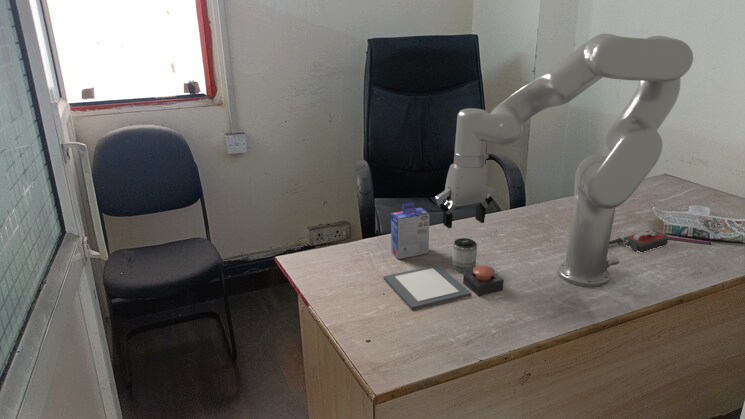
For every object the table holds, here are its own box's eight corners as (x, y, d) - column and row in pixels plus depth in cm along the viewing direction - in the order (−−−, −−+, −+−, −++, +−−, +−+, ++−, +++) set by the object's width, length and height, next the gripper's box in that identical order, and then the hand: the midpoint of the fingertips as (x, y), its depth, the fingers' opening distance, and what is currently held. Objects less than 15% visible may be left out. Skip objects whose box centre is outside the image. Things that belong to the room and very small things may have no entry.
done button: (486, 273, 136) (486, 264, 135) (498, 282, 132) (499, 273, 131) (468, 277, 134) (469, 268, 133) (480, 286, 130) (480, 277, 129)
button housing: (486, 277, 138) (487, 267, 137) (502, 290, 132) (503, 279, 131) (463, 283, 135) (463, 272, 134) (478, 296, 129) (479, 285, 128)
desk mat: (438, 267, 143) (438, 263, 143) (471, 295, 130) (471, 292, 129) (383, 279, 138) (383, 275, 137) (411, 310, 124) (411, 306, 124)
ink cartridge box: (420, 245, 156) (422, 199, 150) (429, 253, 151) (431, 205, 146) (389, 251, 152) (389, 204, 147) (398, 260, 148) (398, 211, 142)
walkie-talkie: (644, 234, 163) (597, 248, 154) (647, 221, 161) (599, 234, 153) (671, 245, 155) (622, 260, 147) (674, 232, 154) (625, 245, 145)
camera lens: (447, 265, 144) (448, 238, 142) (467, 260, 147) (468, 234, 144) (459, 275, 139) (461, 248, 136) (480, 270, 141) (482, 243, 138)
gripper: (490, 152, 138) (483, 214, 145) (431, 159, 132) (427, 223, 138) (507, 160, 132) (500, 224, 138) (446, 167, 126) (441, 234, 132)
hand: (463, 223), depth 138 cm, fingers open, 9 cm apart
